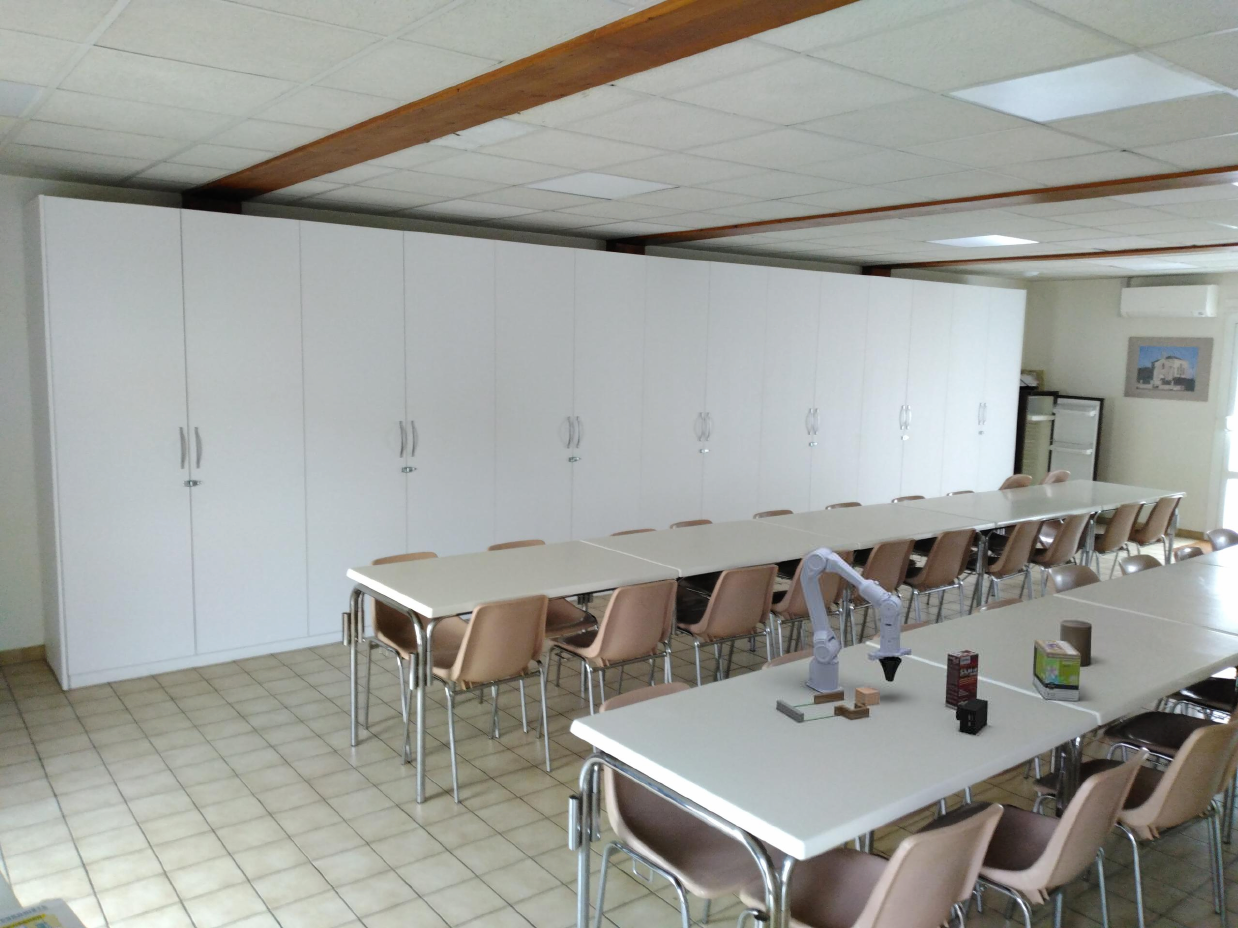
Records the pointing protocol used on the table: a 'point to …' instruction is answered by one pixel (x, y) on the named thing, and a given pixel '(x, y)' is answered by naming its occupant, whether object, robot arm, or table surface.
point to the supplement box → (961, 678)
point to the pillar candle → (1078, 638)
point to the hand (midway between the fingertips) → (889, 680)
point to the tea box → (1056, 670)
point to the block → (867, 696)
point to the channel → (851, 714)
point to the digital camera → (972, 716)
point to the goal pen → (796, 711)
